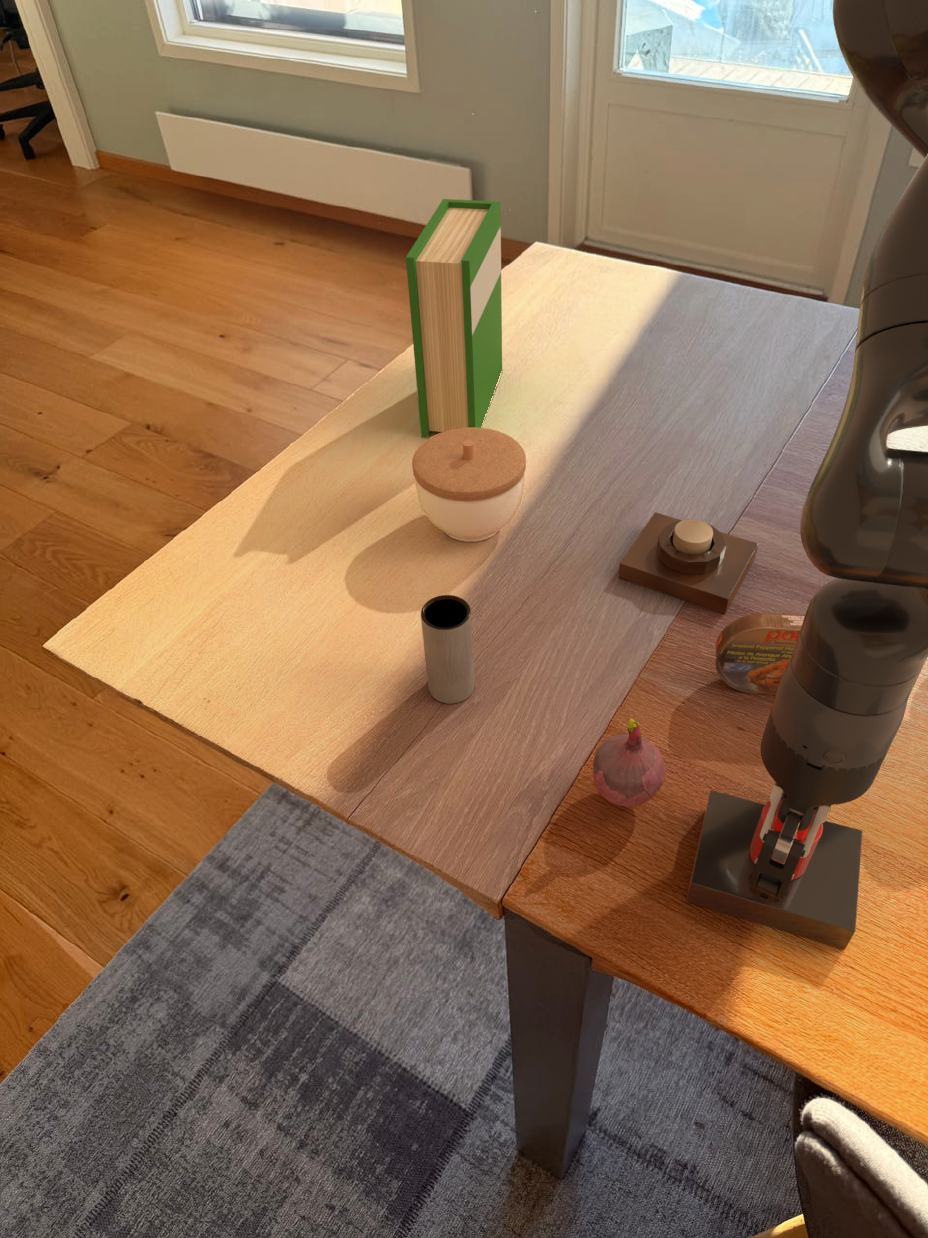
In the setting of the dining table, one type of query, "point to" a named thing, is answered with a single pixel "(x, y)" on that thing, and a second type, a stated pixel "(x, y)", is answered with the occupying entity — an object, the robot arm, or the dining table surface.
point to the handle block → (814, 899)
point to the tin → (757, 651)
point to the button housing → (688, 565)
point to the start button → (692, 537)
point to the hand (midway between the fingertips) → (780, 850)
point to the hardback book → (456, 313)
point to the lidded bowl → (469, 481)
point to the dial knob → (778, 826)
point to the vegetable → (628, 768)
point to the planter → (448, 648)
